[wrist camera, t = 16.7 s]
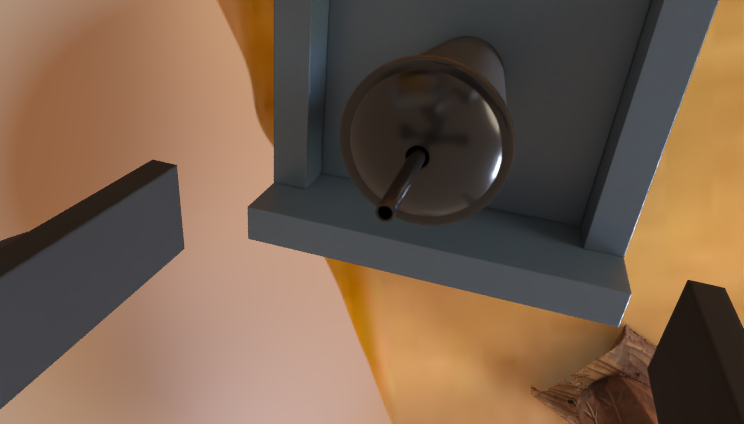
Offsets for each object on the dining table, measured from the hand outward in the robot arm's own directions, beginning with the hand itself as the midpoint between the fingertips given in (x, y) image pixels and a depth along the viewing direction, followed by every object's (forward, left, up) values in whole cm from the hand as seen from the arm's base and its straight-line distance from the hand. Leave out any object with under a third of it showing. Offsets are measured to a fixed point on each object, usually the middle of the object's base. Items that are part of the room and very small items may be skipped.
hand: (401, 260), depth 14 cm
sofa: (+3, -1, -30) cm, 30 cm away
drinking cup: (+1, -1, -24) cm, 24 cm away
